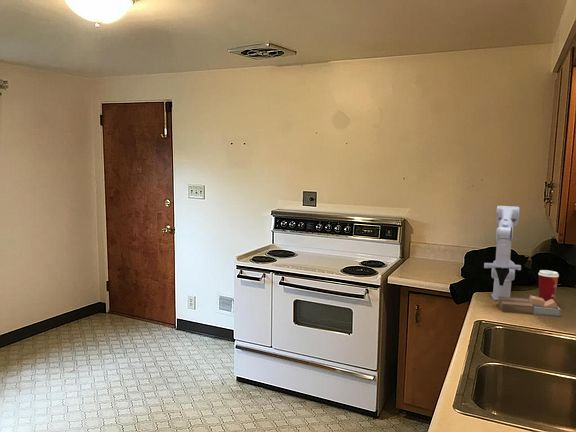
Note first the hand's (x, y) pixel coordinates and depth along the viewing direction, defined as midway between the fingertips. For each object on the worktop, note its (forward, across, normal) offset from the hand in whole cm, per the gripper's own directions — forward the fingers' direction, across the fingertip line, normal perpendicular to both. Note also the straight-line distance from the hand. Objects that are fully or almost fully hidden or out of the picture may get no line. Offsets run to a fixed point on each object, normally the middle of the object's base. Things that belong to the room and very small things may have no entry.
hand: (501, 285), depth 213 cm
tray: (+10, +17, -1) cm, 20 cm away
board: (+10, +6, -1) cm, 12 cm away
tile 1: (+7, +14, -1) cm, 16 cm away
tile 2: (+6, +19, -1) cm, 20 cm away
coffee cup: (+10, +21, +11) cm, 26 cm away
